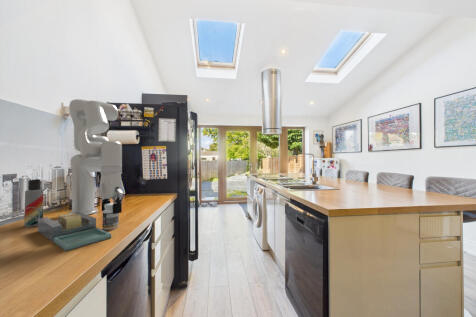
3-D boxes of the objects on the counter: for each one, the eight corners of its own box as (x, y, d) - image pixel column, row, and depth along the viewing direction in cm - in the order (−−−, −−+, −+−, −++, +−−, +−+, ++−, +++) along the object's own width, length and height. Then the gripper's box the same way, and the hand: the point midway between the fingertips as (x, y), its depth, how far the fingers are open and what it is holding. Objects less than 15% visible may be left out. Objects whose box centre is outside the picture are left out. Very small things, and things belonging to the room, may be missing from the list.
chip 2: (62, 226, 76) (62, 217, 76) (77, 223, 79) (77, 214, 79) (66, 228, 73) (66, 218, 73) (81, 225, 77) (81, 216, 77)
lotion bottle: (30, 227, 83) (31, 179, 84) (20, 226, 85) (21, 179, 85) (46, 223, 89) (47, 178, 89) (36, 222, 90) (37, 178, 90)
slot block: (37, 231, 79) (38, 218, 79) (77, 222, 90) (78, 211, 90) (52, 241, 69) (52, 227, 69) (95, 230, 79) (96, 218, 79)
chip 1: (58, 224, 78) (58, 215, 78) (72, 221, 82) (72, 212, 82) (61, 226, 76) (61, 216, 76) (76, 223, 80) (76, 214, 80)
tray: (53, 242, 68) (53, 237, 68) (97, 231, 79) (97, 227, 79) (65, 251, 61) (65, 246, 61) (111, 237, 72) (111, 233, 72)
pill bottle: (102, 227, 84) (102, 203, 84) (117, 224, 87) (118, 202, 87) (102, 231, 79) (103, 206, 79) (119, 228, 82) (119, 204, 83)
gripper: (92, 170, 85) (92, 211, 84) (111, 171, 75) (111, 216, 75) (111, 170, 91) (111, 207, 91) (131, 170, 82) (131, 212, 81)
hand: (111, 211), depth 83 cm, fingers open, 9 cm apart
